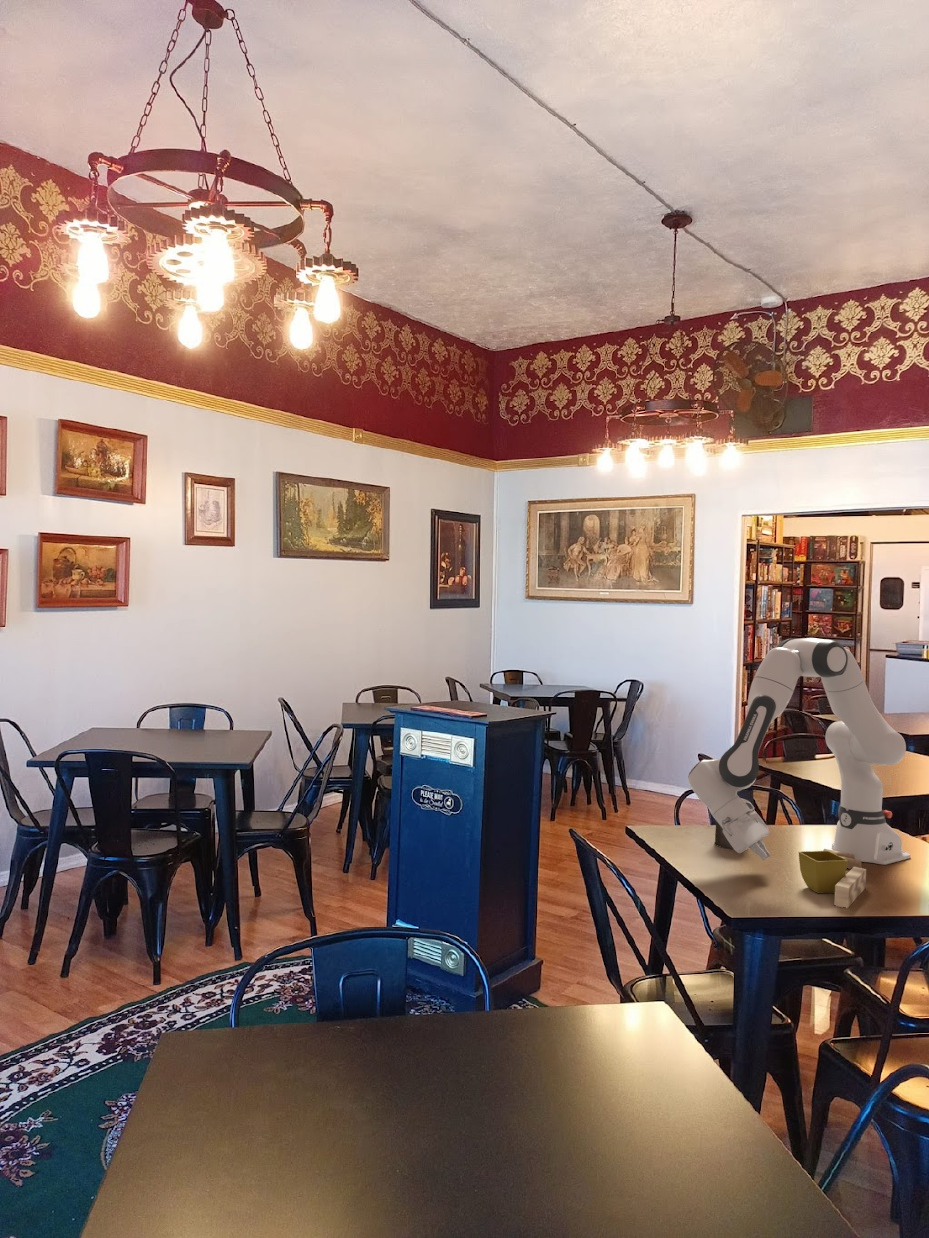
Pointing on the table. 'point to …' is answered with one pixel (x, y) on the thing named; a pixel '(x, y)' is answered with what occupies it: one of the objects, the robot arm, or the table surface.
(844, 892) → the rail
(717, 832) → the pillar candle
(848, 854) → the roller
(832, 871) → the flower pot
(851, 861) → the roller
